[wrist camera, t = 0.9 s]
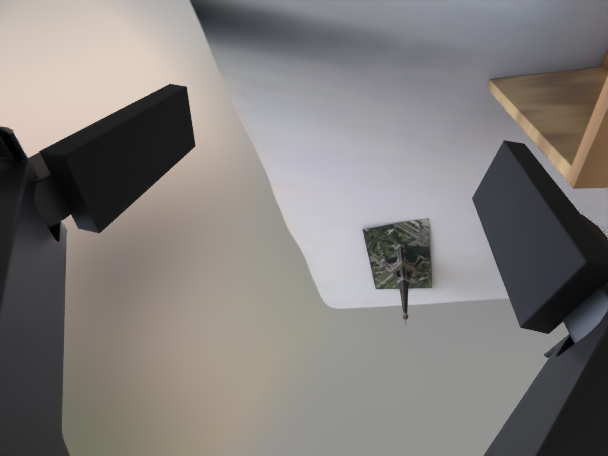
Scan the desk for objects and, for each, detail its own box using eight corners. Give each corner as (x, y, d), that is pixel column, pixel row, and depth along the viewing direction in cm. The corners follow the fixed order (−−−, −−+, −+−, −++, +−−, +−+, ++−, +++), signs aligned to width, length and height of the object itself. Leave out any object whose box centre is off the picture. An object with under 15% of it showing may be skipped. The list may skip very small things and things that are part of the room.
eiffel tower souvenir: (361, 225, 50) (354, 289, 40) (428, 218, 46) (440, 286, 36) (375, 287, 58) (373, 353, 48) (433, 285, 55) (444, 355, 45)
